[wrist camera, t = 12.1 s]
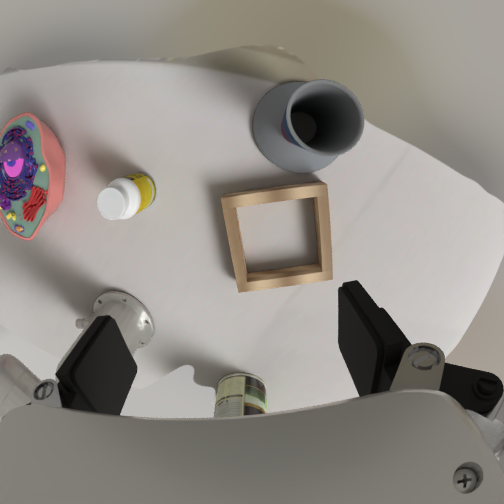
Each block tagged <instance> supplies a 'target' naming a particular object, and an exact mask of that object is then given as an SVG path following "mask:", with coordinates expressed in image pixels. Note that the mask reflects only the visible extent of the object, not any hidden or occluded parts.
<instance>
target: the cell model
mask: <svg viewBox="0 0 504 504" xmlns="http://www.w3.org/2000/svg"><path fill="white" fill-rule="evenodd" d="M65 169H66V157H65V153H64V151H63V149H62V147H61V145H60V143H59V141H58V139H57V138H56V136H55V134H54V133H53V132H52V130H51V129H50V128H49V127H48V126H47V125H46V124H45V123H43V122H42V121H41V120H40V119H38V118H37V117H36V116H34V115H33V114H31V113H28V112H27V113H22V114H20V115H18V116H16V117H14V118H13V119H11V120H10V121H8V122H7V124H6V125H5V126H4V128H3V130H2V131H1V133H0V216H1V218H2V220H3V222H4V224H5V226H6V227H7V229H8V230H9V232H10V233H11V234H13V235H15V236H17V237H19V238H21V239H23V240H32V239H33V238H34V237H35V236H36V234H37V233H38V231H39V230H40V228H41V227H42V225H43V224H44V223H45V222H46V221H47V219H48V218H49V217H50V216H51V215H52V214H53V213H54V212H55V211H56V210H57V209H58V207H59V205H60V204H61V202H62V200H63V196H64V183H65Z"/></svg>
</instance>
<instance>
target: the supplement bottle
mask: <svg viewBox="0 0 504 504" xmlns="http://www.w3.org/2000/svg"><path fill="white" fill-rule="evenodd" d="M156 195H157V187H156V183H155V181H154V180H153V178H152V177H151V176H149V175H148V174H146V173H135V174H131V175H127V176H124V177H120V178H117V179H115V180H113V181H111V182H110V183H109V184H108V185H107V187H106V188H105V189H103V190H102V191H101V192H100V193H99V195H98V198H97V206H98V210H99V212H100V213H101V215H102V216H103V217H104V218H106V219H109V220H115V219H121V220H123V219H128V218H130V217H132V216H133V215H135V214H137V213H138V212H140V211H142V210H143V209H145V208H147V207H148V206H150V205H151V204H152V203H153V202H154V200H155V198H156Z"/></svg>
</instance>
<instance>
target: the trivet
mask: <svg viewBox="0 0 504 504" xmlns="http://www.w3.org/2000/svg"><path fill="white" fill-rule="evenodd" d="M304 83H306V82H290V83H285V84H282V85H280V86H277V87H275V88H274V89H272V90H271V91H269V92H268V93H267V94H266V95H265V96H264V97H263V98H262V99H261V101H260V102H259V104H258V106H257V108H256V111H255V114H254V118H253V132H254V137H255V140H256V143H257V145H258V147H259V149H260V150H261V152H262V153H263V154H264V155H265V157H266V158H267V159H268V160H270V161H271V162H272V163H273V164H275V165H276V166H278V167H280V168H282V169H284V170H287V171H291V172H295V173H309V172H314V171H317V170H320V169H322V168H325V167H326V166H328V165H329V164H331V163H332V162H333V161H334V160H335V159H336V158H337V157H338V156H339V155H337V156H330V157H329V156H320V155H316V154H313V153H311V152H309V151H307V150H305V149H303V148H300V147H298V146H296V145H294V144H292V143H290V142H288V141H287V140H286V139H285V137H284V136H283V134H282V131H281V123H282V120H283V116H284V113H285V110H286V106H287V103H288V101H289V99H290V97H291V95H292V94H293V92H294V91H295V90H296V89H297V88H298V87H300V86H301V85H303V84H304Z"/></svg>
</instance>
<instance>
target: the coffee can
mask: <svg viewBox="0 0 504 504" xmlns="http://www.w3.org/2000/svg"><path fill="white" fill-rule="evenodd" d="M217 387H218V390H217V397H216V404H215V412H214V418H216V417H233V416H245V415H256V414H265V413H267V405H266V385H265V383H264V381H263V380H262V379H260V378H259V377H257V376H255V375H252V374H248V373H234V374H230V375H227V376H225V377H224V378H222V379H221V380H220V381H219V383H218V386H217Z"/></svg>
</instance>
